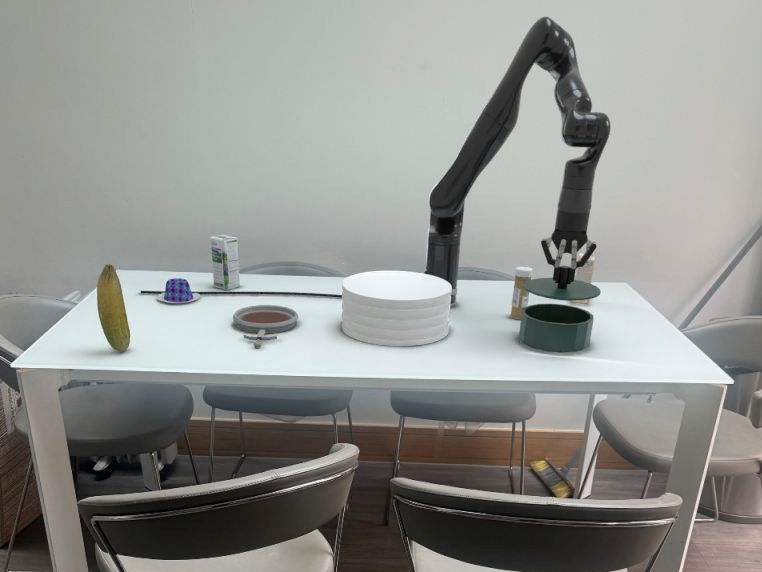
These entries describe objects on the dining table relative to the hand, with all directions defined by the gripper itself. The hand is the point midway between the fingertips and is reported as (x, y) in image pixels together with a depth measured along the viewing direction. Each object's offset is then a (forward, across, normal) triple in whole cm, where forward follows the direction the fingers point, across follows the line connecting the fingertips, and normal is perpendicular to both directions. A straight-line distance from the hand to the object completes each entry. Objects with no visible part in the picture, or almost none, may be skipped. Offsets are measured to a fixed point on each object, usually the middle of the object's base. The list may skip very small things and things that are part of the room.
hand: (562, 282), depth 187 cm
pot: (+15, 0, 0) cm, 15 cm away
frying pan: (+15, +73, +13) cm, 76 cm away
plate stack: (+15, +41, +1) cm, 44 cm away
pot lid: (+2, 0, 0) cm, 2 cm away
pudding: (+15, +105, -6) cm, 106 cm away
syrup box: (+15, +97, -22) cm, 101 cm away
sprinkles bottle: (+15, +10, -19) cm, 26 cm away
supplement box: (+15, -7, -41) cm, 44 cm away
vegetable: (+15, +100, +38) cm, 108 cm away
